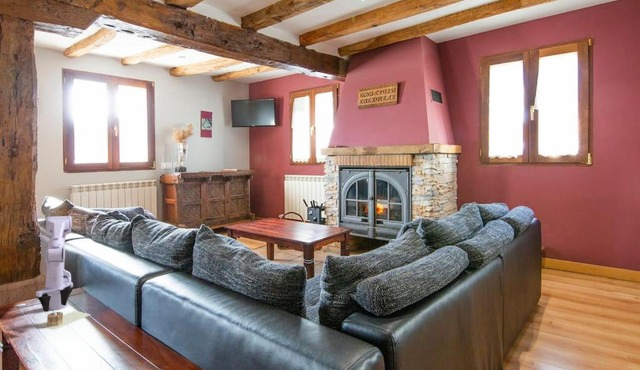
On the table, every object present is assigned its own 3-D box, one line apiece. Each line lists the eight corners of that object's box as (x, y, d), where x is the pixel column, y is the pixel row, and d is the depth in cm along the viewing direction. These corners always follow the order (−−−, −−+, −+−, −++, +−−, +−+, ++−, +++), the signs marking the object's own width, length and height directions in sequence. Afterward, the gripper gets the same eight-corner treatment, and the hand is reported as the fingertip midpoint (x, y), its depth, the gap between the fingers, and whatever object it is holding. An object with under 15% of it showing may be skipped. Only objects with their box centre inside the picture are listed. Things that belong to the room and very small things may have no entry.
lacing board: (37, 327, 161) (37, 313, 161) (74, 313, 177) (75, 300, 177) (54, 332, 158) (54, 317, 158) (91, 317, 174) (91, 304, 174)
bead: (44, 324, 162) (44, 315, 161) (56, 320, 167) (56, 311, 166) (53, 327, 160) (53, 317, 160) (65, 322, 165) (65, 313, 165)
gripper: (44, 282, 154) (44, 316, 155) (78, 273, 168) (77, 303, 168) (32, 280, 156) (32, 312, 157) (66, 271, 170) (66, 301, 171)
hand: (55, 308), depth 163 cm, fingers open, 7 cm apart
